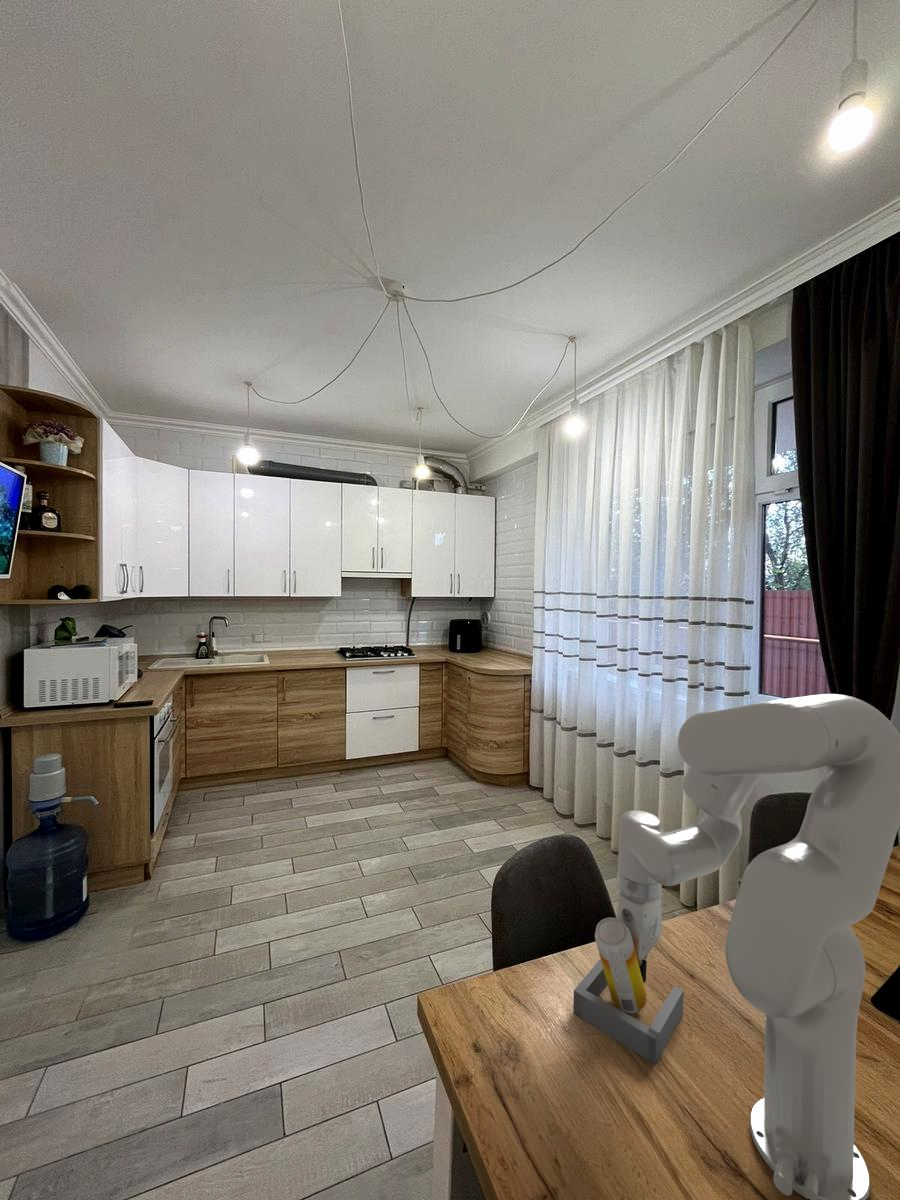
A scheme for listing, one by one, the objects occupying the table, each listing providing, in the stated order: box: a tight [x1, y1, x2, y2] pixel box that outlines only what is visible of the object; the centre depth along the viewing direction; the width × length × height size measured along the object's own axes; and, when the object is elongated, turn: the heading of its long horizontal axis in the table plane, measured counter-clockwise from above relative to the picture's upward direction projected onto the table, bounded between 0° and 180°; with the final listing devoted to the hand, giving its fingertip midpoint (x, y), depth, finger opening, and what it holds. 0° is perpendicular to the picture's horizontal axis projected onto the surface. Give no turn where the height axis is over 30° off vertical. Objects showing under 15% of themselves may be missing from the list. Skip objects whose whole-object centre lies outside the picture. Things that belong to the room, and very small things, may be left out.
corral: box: [572, 958, 684, 1066], centre depth 86 cm, size 13×14×4 cm
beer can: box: [594, 917, 648, 1014], centre depth 87 cm, size 6×6×15 cm
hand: (635, 979), depth 92 cm, fingers closed
